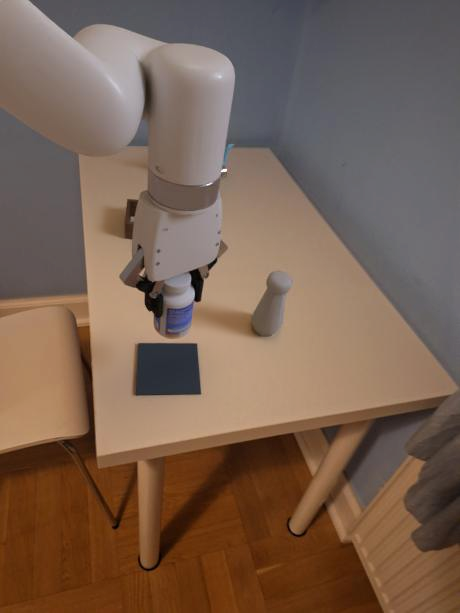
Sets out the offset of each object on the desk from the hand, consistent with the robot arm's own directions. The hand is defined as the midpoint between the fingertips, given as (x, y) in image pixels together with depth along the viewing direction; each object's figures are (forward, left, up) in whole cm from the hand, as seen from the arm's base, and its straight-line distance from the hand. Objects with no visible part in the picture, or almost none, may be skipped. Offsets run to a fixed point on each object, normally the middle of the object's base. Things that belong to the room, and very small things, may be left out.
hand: (173, 302), depth 55 cm
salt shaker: (+18, +9, -16) cm, 26 cm away
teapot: (+9, +64, -16) cm, 66 cm away
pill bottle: (0, 0, -5) cm, 5 cm away
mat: (0, 0, -15) cm, 15 cm away
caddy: (-4, +39, -15) cm, 42 cm away
